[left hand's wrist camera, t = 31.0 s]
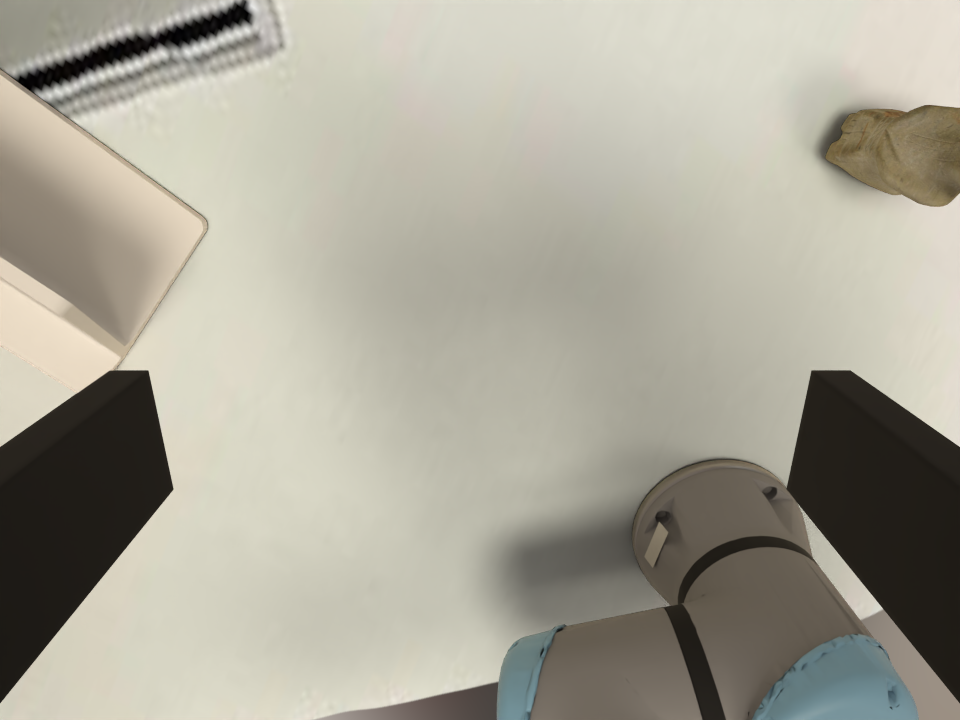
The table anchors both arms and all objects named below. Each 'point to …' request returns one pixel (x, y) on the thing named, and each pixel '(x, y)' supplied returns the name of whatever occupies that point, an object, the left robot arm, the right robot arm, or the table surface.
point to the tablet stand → (79, 243)
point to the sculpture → (903, 152)
